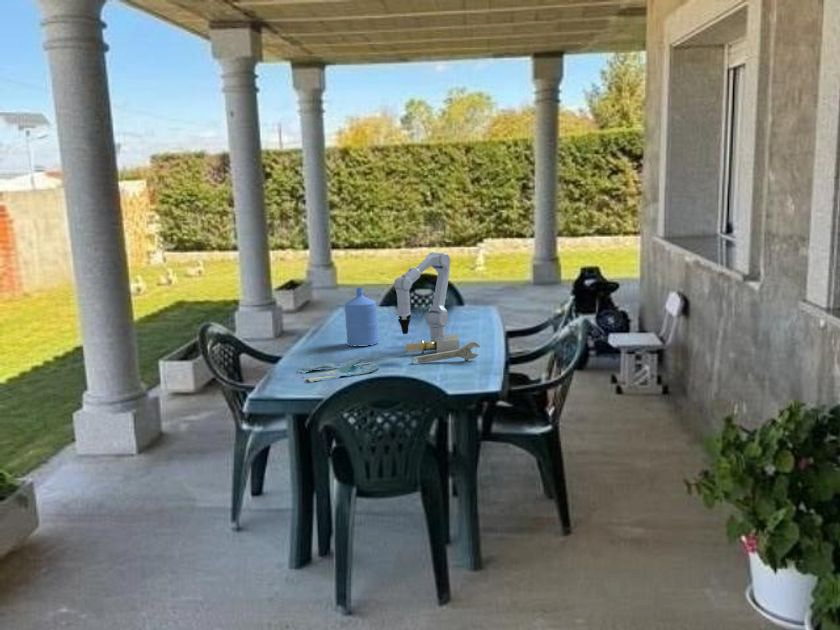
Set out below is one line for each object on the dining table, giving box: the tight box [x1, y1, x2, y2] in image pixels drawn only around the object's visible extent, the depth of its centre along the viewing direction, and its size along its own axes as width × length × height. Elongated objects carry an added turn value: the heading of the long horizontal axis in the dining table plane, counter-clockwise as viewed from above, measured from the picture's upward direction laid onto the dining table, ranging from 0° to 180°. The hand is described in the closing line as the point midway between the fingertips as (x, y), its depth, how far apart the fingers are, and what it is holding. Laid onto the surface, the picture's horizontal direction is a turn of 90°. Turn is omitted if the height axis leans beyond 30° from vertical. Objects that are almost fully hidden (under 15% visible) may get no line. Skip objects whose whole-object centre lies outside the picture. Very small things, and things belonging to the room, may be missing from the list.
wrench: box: [411, 341, 481, 365], centre depth 332 cm, size 8×2×30 cm
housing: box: [436, 333, 460, 353], centre depth 349 cm, size 14×10×7 cm
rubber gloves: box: [298, 356, 380, 381], centre depth 327 cm, size 27×33×6 cm
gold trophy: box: [405, 339, 437, 355], centre depth 349 cm, size 6×14×6 cm, turn 90°
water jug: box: [344, 287, 380, 346], centre depth 377 cm, size 16×16×28 cm
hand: (405, 332), depth 354 cm, fingers open, 7 cm apart
